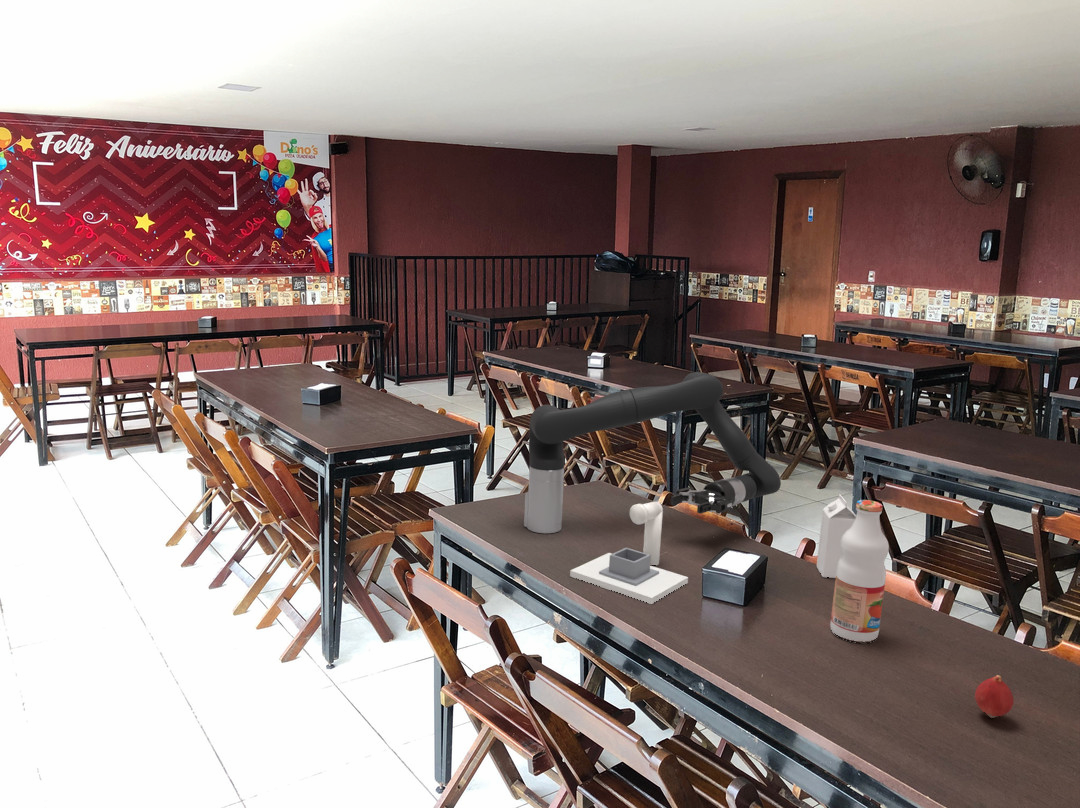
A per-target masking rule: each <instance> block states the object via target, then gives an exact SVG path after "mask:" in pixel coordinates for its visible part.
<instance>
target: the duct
mask: <svg viewBox="0 0 1080 808" xmlns="http://www.w3.org/2000/svg"><path fill="white" fill-rule="evenodd" d="M650 559H651V555H649V554H646V553H643V551H642V552H641V551H639V550H636V549H632V548H630V547H624V548H621V549H620V550H618V551H615V552H613V553H611V552H607V553H605V554H603V555H601V556H599V557H596V558H595V559H591V560H590V561H588V562H586V563H584V564H582V565H580V566H577V567H575V568H572V569H570V570H569V577H570V578H573V579H576V578H577V579H576V580H578V579H579V581H581V580H583V581H582V582H584V581H585V583H587V582H588V584H590V583H592V584H591V585H593V584H594V586H596V585H597V586H596V587H599V586H600V587H599V588H602V589H606V590H608V591H611V590H612V591H611V592H614V591H615V592H614V593H616V592H618V593H617V594H619V593H621V594H620V595H622V594H624V595H623V596H625V595H626V597H628V596H629V598H631V597H632V599H634V598H635V599H634V600H637V599H638V601H640V600H641V601H640V602H643V601H644V602H643V603H646V602H647V604H649V605H653V604H655V603H657V602H658V601H660V600H661V598H662V599H663V598H665V597H667V596H669V595H670V594H672V593H673V591H674V590H675V591H677V590H679V589H681V588H682V587H684V586H686V585H687V584H688V583H689V577H688V576H685V575H682V574H679V573H676V572H674V571H673V572H672V571H669V570H667V569H666V570H665V569H663V568H660V567H656V566H650ZM685 584H686V585H685ZM683 585H684V586H683ZM681 586H682V587H681ZM680 587H681V588H680ZM678 588H679V589H678ZM676 589H677V590H676ZM675 591H674V592H675ZM671 592H672V593H671ZM669 593H670V594H669ZM668 594H669V595H668ZM666 595H667V596H666ZM664 596H665V597H664ZM659 599H660V600H659ZM656 601H657V602H656ZM654 602H655V603H654Z"/></svg>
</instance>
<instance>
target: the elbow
mask: <svg viewBox="0 0 1080 808" xmlns="http://www.w3.org/2000/svg"><path fill="white" fill-rule="evenodd" d="M663 514H664V510H663V506H662V504H661V503H660V502H658V501H651V502H647V503H637V504H633V505H632V506H631V507H630V509H629V517H630V519H631V521H632V523H634V524H636V525H643V524H644V532H643V551H642V553H646V554H649V555H651V559H650V565H656V566H658V565H659V564H660V554H661V542H662V541H661V540H662V539H661V538H662V527H663V526H662V525H663Z"/></svg>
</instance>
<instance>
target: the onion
mask: <svg viewBox="0 0 1080 808" xmlns="http://www.w3.org/2000/svg"><path fill="white" fill-rule="evenodd" d="M974 699H975V702H976V705H977V706H978V708H979V709H980V710H981V711H982V712H983V713H984V712H985V713H986V714H989V715H992V716H1000V717H1001V716H1004V715H1007V714H1008V713H1009V712H1010V711H1011V710H1012V709H1013V706H1014V701H1015V700H1014V695H1013V693H1012V689H1010V687H1009V685H1008V684H1006V682H1005V681H1003V680H1002V676H1001V675H998V674H997V675H995V676H992V677H990V678H986V679H985V680H983V681H982V682H980V684H978V685H977V687H976V689H975V693H974ZM985 713H984V714H985ZM986 714H985V715H986Z"/></svg>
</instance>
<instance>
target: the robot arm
mask: <svg viewBox="0 0 1080 808" xmlns="http://www.w3.org/2000/svg"><path fill="white" fill-rule="evenodd" d="M723 394H724V387H723V384H722V382H721V381H720V380H719V378H717V377H716V376H714V375H712V374H709V373H706V372H702V371H701V372H700V371H695V372H694V371H693V372H690V373H689V374H687V375H686V376H685V377H684V378H683V380H682V381H681V382H678V383H674V384H669V385H662V386H660V385H657V386H644V387H643V386H642V387H641V386H640V387H634V388H628V389H623V390H619V391H615V392H611V393H609V394H605V395H604V396H601V397H600V398H598V399H596V400H593V401H592V402H589V403H588V404H585V405H582V406H578V407H572V408H567V409H559V408H558V407H556V406H555V405H552V404H542V405H540V406H538V407H536V409H534V411H532V414H531V416H530V419H529V426H528V427H529V429H528V430H529V432H528V454H529V473H528V474H529V475H528V490H527V491H526V492H525V494H524V518H523V527H525V528H527V529H528V531H531V532H533V533H537V534H538V533H539V534H554V533H557V532H560V531H561V530H562V522H563V521H562V520H563V519H562V518H563V517H562V516H563V499H564V497H563V496H564V480H565V478H564V477H565V460H566V459H565V453H564V442H565V441H568V440H570V439H574V438H577V437H580V436H582V435H585V434H589V433H593V432H600V431H605V430H611V429H615V428H620V427H625V426H629V425H634V424H638V423H642V422H645V421H649V420H653V419H656V418H661V417H663V416H666V415H669V414H672V413H677V412H684V411H690V410H691V411H692V410H694V411H696V412H697V414H698V415H699V416H700V417H701V418H702V419H703V420H704V422H705V424H706V425H707V426H708V427H709V429H710V430H711V432H712V433H713V435H714V436H715V437H716V439H717V441H718V443H719V444H720V446H721V447H722V448H723V450H724V451H725V454H726V455H727V456H728V458H729V460H730V461H731V462H732V464H733V466H734V467H735V468H736V469H737V470H738V471H743V472H744V471H745V472H747V473H744V474H741V475H736V476H733V477H725V478H722V479H719V480H714V481H711V482H708V483H707V484H705V486H704V487H703V489H698V490H696V489H695V490H693V489H694V487H692V486H690V487H689V486H688V487H685V488H684V487H683V488H679V489H676V490H675V494H674V495H671V496H670V505H672V506H675V505H678V504H679V505H680V504H682V503H685V504H686V503H688V505H690V506H691V505H694V506H695V505H697V507H696V508H697V509H696V513H697V514H700V515H701V514H704V513H708V512H709V513H714V512H715V513H716V514H721V513H725V512H727V511H730V510H732V507H735V506H737V505H738V504H741V503H745V502H747V501H750V500H751V499H754V498H759V497H763V496H767V495H771V494H775V493H777V492H779V490H780V488H781V485H782V482H781V477H780V474H779V472H777V471H778V470H776V469H775V468H774V467H773V466H772V465H771V464H770V463H769V462H768V461H767V460H766V459H765V458H764V457H762V456H761V455H760V454H759V453H758V452H757V450H756V448H755V447H754V446H753V444H752V443H751V441H750V439H749V438H748V437H747V435H746V434H745V432H744V431H743V430H742V429H741V428H740V427H739V425H738V424H737V423H736V421H734V420H733V419H732V417H731V416H730V415H729V414H728V412H727V411H726V410H725V409H724V407H723V405H722V404H721V402H720V400H721V398H722V397H723ZM692 499H693V500H692Z"/></svg>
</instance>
